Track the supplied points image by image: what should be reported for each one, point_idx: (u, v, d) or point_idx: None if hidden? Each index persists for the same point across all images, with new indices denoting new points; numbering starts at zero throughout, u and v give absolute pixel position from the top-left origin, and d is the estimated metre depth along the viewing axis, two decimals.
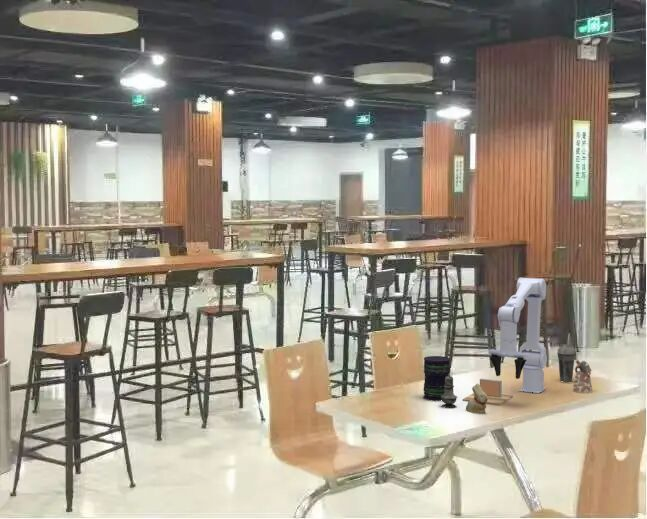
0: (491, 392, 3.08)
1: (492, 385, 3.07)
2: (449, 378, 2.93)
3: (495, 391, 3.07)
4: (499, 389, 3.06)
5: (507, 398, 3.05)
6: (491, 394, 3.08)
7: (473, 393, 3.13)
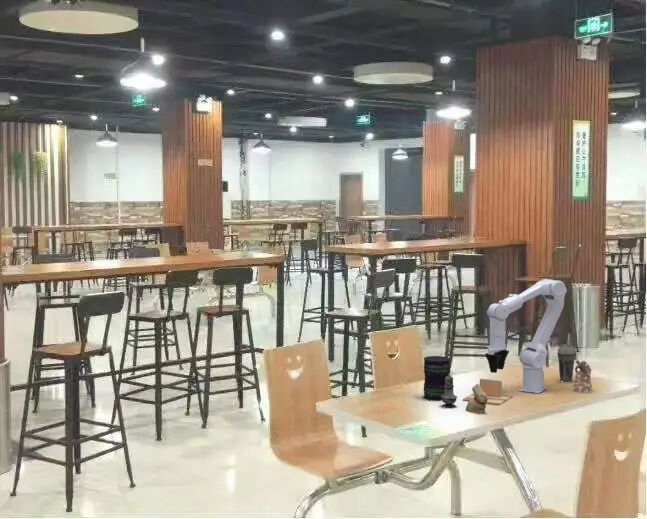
0: (491, 392, 3.08)
1: (492, 385, 3.07)
2: (449, 378, 2.93)
3: (495, 391, 3.07)
4: (499, 389, 3.06)
5: (507, 398, 3.05)
6: (491, 394, 3.08)
7: (473, 393, 3.13)
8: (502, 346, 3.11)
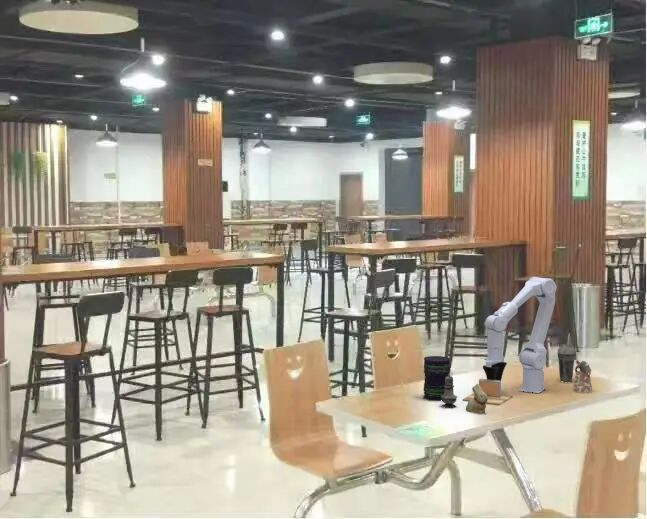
0: (491, 392, 3.07)
1: (491, 386, 3.07)
2: (449, 378, 2.93)
3: (495, 391, 3.07)
4: (499, 389, 3.06)
5: (507, 398, 3.05)
6: (491, 394, 3.08)
7: (473, 393, 3.13)
8: (500, 358, 3.10)
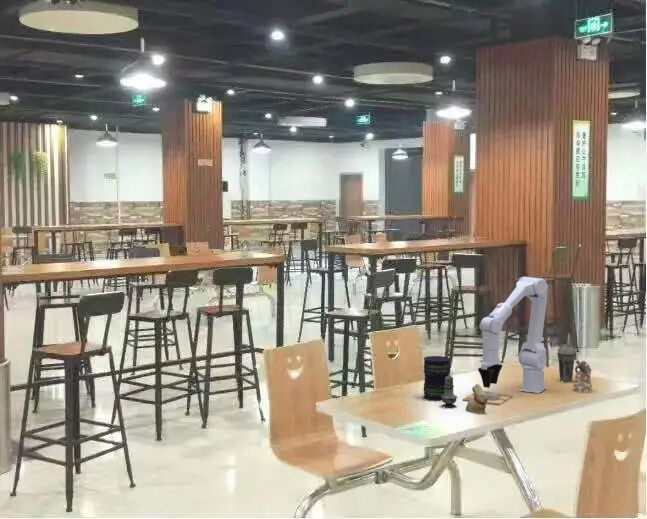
0: None
1: None
2: (449, 378, 2.93)
3: None
4: (496, 398, 3.04)
5: (507, 398, 3.05)
6: None
7: (473, 393, 3.13)
8: (495, 360, 3.05)
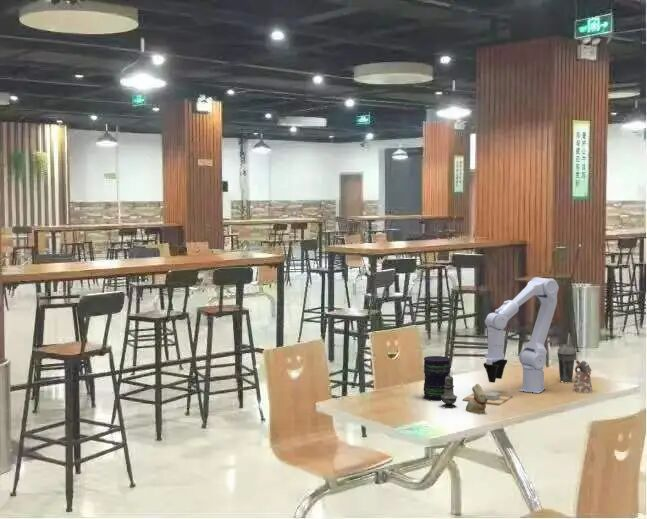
0: None
1: None
2: (449, 378, 2.93)
3: None
4: (496, 398, 3.04)
5: (507, 398, 3.05)
6: None
7: (473, 393, 3.13)
8: (500, 356, 3.10)
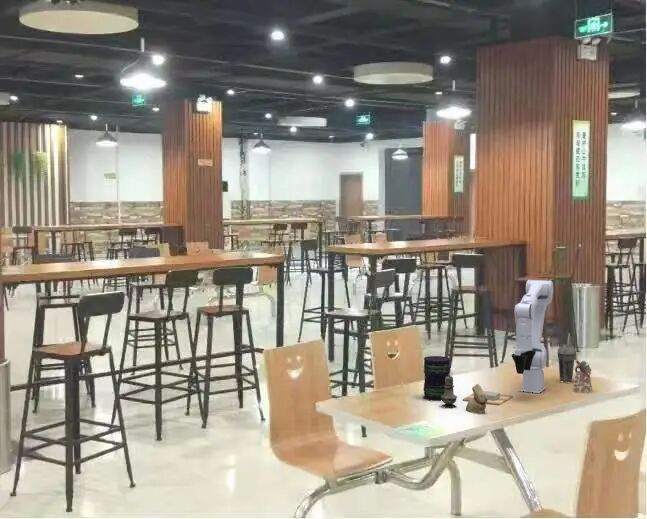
0: None
1: None
2: (449, 378, 2.93)
3: None
4: (496, 398, 3.04)
5: (507, 398, 3.05)
6: None
7: (473, 393, 3.13)
8: (529, 347, 3.04)
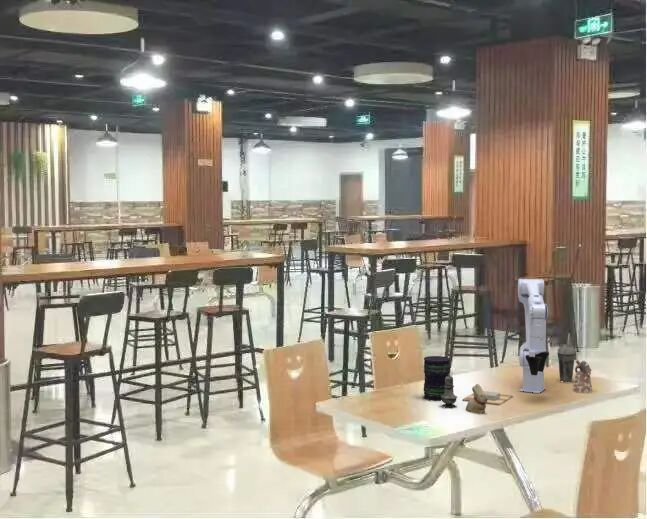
0: None
1: None
2: (449, 378, 2.93)
3: None
4: (496, 398, 3.04)
5: (507, 398, 3.05)
6: None
7: (473, 393, 3.13)
8: (543, 348, 3.01)
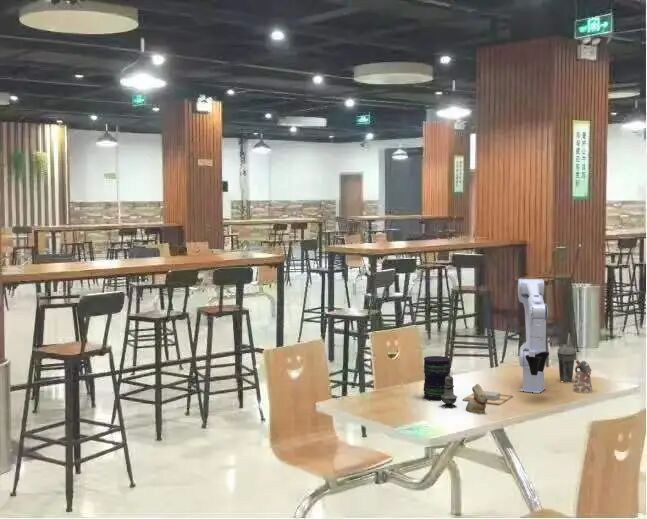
0: None
1: None
2: (449, 378, 2.93)
3: None
4: (496, 398, 3.04)
5: (507, 398, 3.05)
6: None
7: (473, 393, 3.13)
8: (543, 348, 3.01)
